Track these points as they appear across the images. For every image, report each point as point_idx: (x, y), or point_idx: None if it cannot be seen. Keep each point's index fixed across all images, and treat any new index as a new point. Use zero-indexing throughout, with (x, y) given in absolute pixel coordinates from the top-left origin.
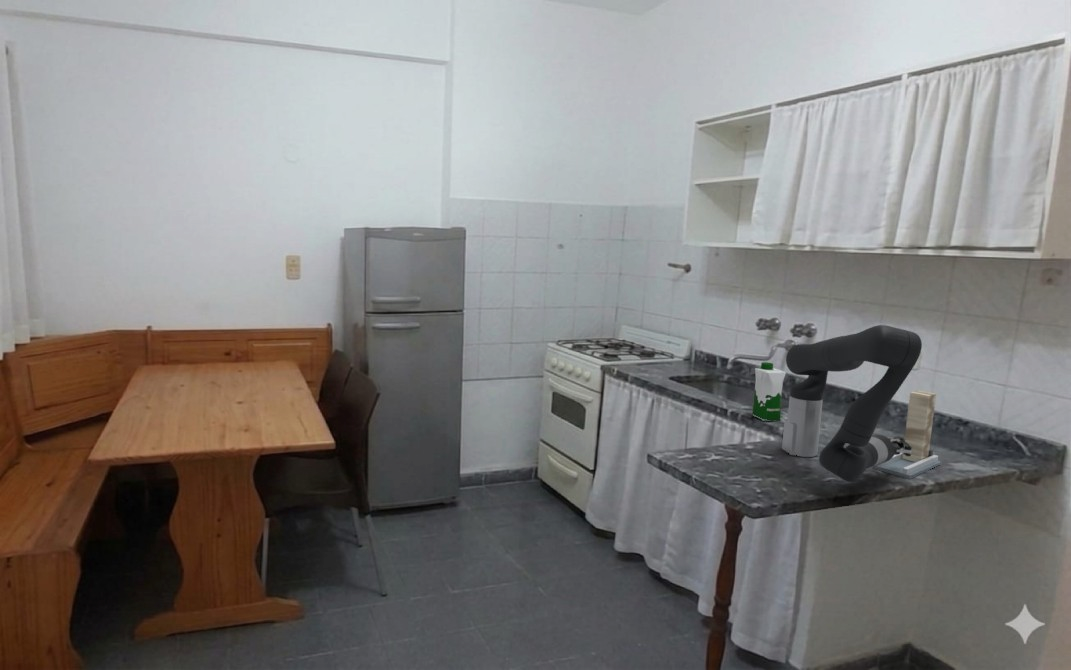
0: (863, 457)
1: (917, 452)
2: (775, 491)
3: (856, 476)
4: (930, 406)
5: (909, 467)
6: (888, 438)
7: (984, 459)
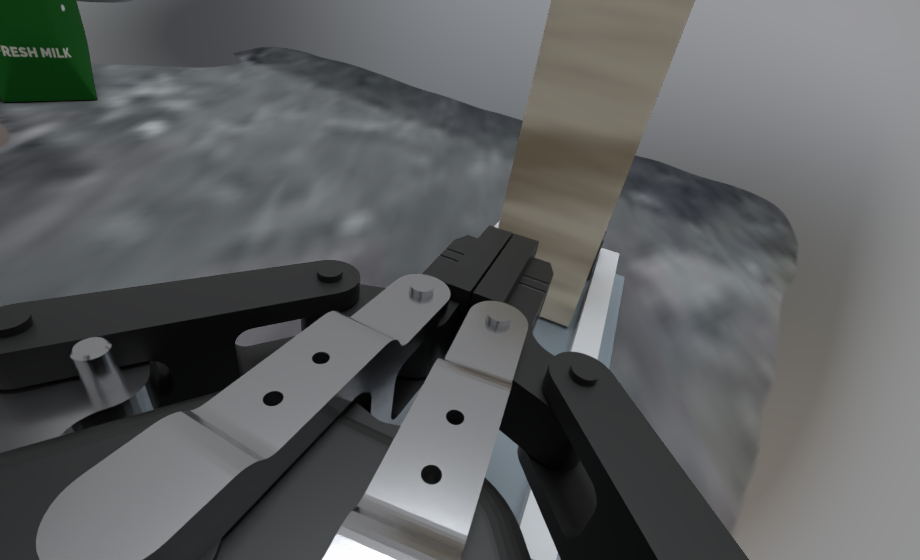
0: None
1: (563, 273)
2: None
3: None
4: None
5: None
6: (366, 367)
7: (690, 220)
